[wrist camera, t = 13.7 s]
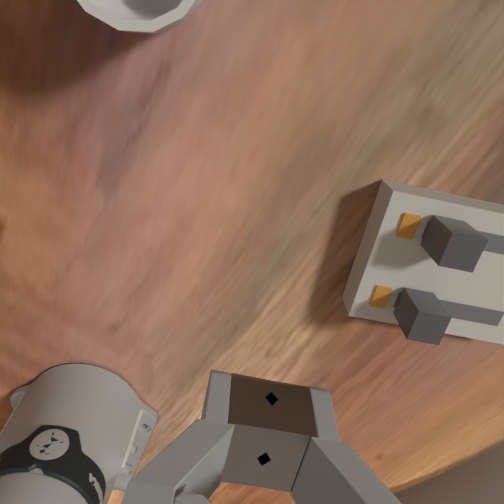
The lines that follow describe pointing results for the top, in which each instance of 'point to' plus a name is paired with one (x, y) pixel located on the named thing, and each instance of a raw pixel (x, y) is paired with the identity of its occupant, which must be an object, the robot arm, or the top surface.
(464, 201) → the switch housing
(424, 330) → the far tab
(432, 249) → the near tab
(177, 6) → the foam cup
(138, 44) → the top surface
